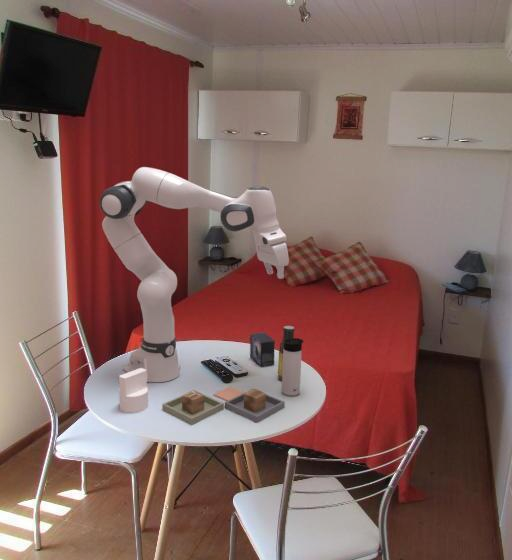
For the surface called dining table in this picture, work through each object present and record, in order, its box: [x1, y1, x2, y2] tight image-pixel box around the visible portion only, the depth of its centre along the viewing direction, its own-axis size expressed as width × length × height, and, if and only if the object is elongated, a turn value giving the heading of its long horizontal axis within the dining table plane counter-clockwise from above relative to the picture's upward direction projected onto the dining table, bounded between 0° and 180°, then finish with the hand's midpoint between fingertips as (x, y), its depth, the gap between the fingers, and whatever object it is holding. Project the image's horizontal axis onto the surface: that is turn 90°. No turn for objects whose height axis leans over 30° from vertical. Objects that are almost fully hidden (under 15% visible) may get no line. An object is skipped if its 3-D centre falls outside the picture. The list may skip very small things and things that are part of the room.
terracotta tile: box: [212, 386, 245, 402], centre depth 178 cm, size 8×8×1 cm
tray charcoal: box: [224, 388, 286, 424], centre depth 169 cm, size 14×14×2 cm
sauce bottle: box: [277, 325, 295, 381], centre depth 191 cm, size 6×6×20 cm
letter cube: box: [181, 390, 205, 415], centre depth 167 cm, size 5×5×5 cm
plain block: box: [244, 388, 267, 413], centre depth 169 cm, size 5×5×5 cm
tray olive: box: [162, 390, 225, 426], centre depth 167 cm, size 14×14×2 cm
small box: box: [249, 332, 276, 368], centre depth 207 cm, size 11×6×10 cm, turn 25°
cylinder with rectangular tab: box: [118, 368, 149, 414], centre depth 167 cm, size 9×9×12 cm
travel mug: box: [281, 337, 304, 398], centre depth 179 cm, size 6×7×20 cm
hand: (275, 275), depth 174 cm, fingers open, 8 cm apart
